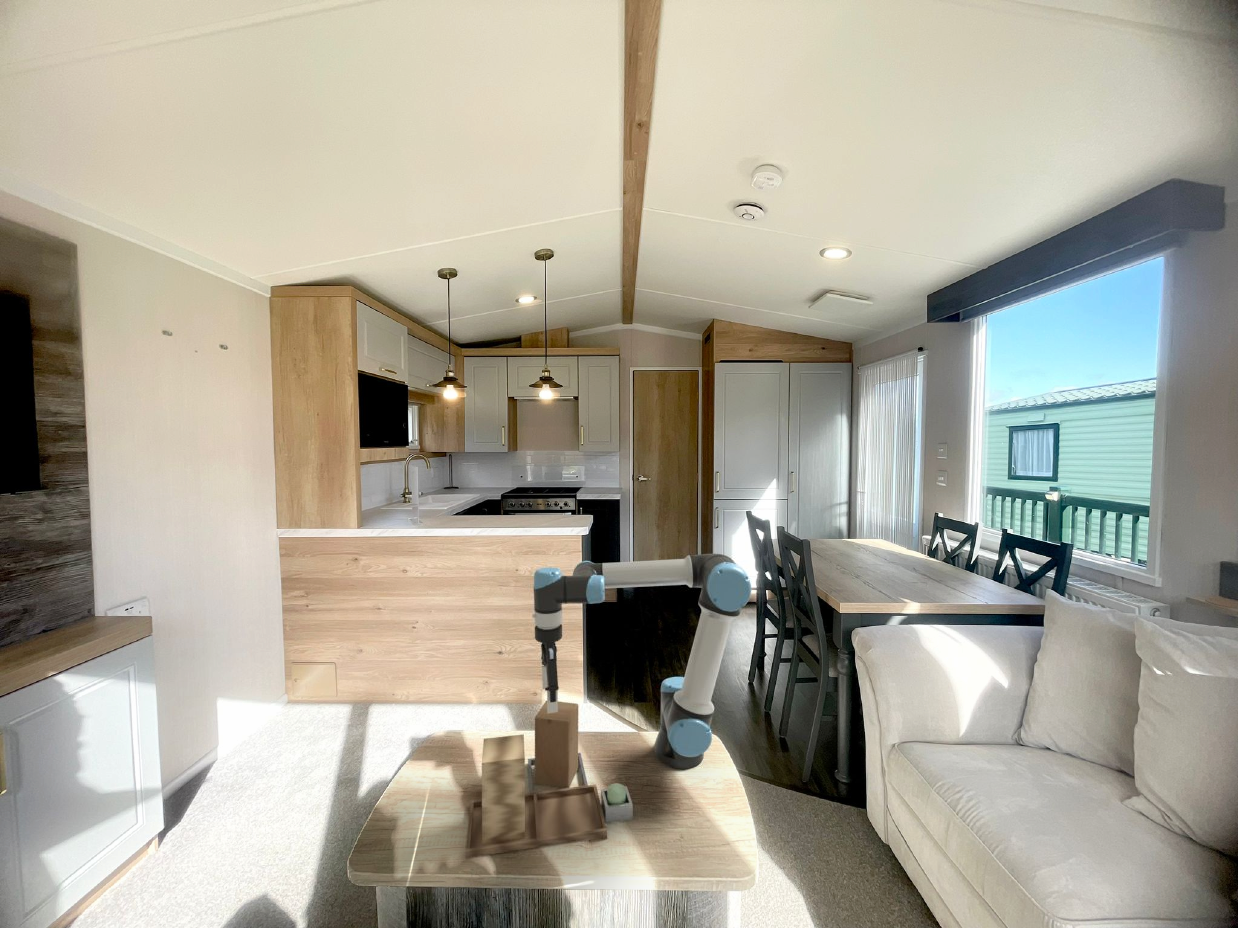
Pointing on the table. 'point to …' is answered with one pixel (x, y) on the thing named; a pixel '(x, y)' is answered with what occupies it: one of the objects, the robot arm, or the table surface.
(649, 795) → the table surface
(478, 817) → the divided wooden tray
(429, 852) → the table surface
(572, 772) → the wooden block
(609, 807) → the button housing
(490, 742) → the seated billet
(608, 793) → the button
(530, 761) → the tote frame
